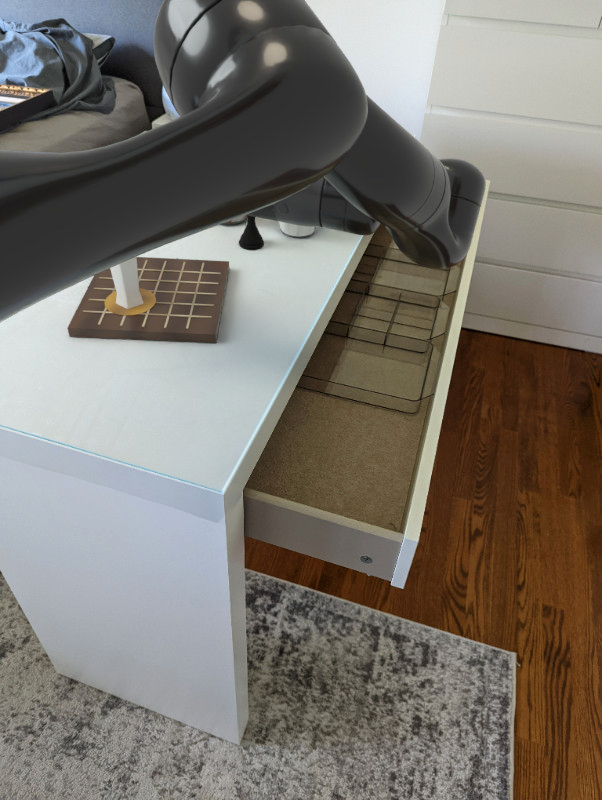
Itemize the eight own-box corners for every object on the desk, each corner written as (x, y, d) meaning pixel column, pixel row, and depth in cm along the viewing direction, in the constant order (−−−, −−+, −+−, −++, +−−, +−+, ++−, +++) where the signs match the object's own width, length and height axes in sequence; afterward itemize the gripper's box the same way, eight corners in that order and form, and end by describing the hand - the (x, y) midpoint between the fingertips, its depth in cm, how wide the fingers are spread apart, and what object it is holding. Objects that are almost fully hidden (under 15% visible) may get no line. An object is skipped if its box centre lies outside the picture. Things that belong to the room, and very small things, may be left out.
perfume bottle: (138, 312, 82) (121, 211, 72) (109, 306, 83) (89, 205, 73) (152, 296, 86) (138, 196, 76) (125, 290, 86) (107, 191, 76)
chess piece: (269, 245, 102) (270, 189, 96) (249, 252, 100) (248, 195, 93) (253, 235, 105) (253, 180, 98) (233, 242, 102) (232, 186, 96)
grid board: (69, 336, 80) (66, 327, 79) (105, 263, 95) (104, 254, 94) (215, 343, 81) (215, 333, 80) (229, 269, 96) (229, 260, 94)
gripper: (310, 129, 65) (178, 107, 68) (265, 174, 55) (112, 146, 58) (306, 195, 70) (183, 171, 73) (264, 247, 60) (123, 218, 63)
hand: (152, 160), depth 66 cm, fingers open, 8 cm apart
